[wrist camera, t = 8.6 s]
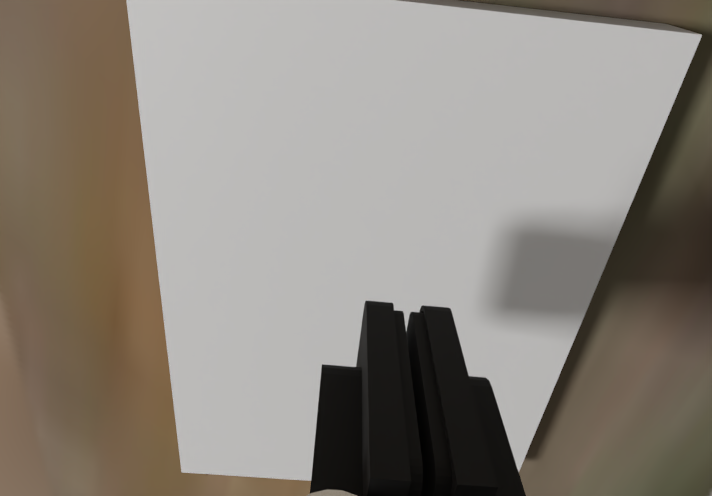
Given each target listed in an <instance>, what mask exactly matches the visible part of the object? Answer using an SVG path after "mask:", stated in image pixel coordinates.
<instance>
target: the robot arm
mask: <svg viewBox="0 0 712 496" xmlns="http://www.w3.org/2000/svg"><path fill="white" fill-rule="evenodd" d="M307 496H526V495H525V492H524V489H523V485H522V482H521V479H520V476H519V472H518V469H517V466H516V463H515V460H514V456H513V453H512V450H511V447H510V443H509V440H508V437H507V434H506V431H505V427H504V424H503V421H502V418H501V415H500V411H499V408H498V405H497V402H496V398H495V395H494V392H493V389H492V386H491V384H490V381H489V380H488V379H487V378H485V377H473V376H469V375H468V372H467V368H466V364H465V360H464V356H463V353H462V349H461V345H460V341H459V337H458V334H457V330H456V326H455V322H454V318H453V315H452V311H451V309H450V308H447V307H436V306H424V305H422V306H421V308H420V311H419V312H411V313H410V315H409V320H408V326H407V331H406V328H405V320H404V313H403V311H397V310H394V305H393V303H389V302H378V301H365V304H364V311H363V319H362V326H361V334H360V341H359V349H358V356H357V364H356V367H349V366H336V365H324V364H322V368H321V379H320V390H319V401H318V412H317V423H316V434H315V445H314V456H313V467H312V478H311V489H310V494H309V495H307Z"/></svg>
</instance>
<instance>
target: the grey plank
mask: <svg viewBox="0 0 712 496" xmlns="http://www.w3.org/2000/svg"><path fill="white" fill-rule="evenodd" d="M127 9H128V17H129V26H130V34H131V43H132V52H133V60H134V69H135V77H136V86H137V94H138V103H139V111H140V120H141V129H142V137H143V146H144V154H145V163H146V171H147V180H148V189H149V197H150V206H151V214H152V223H153V231H154V240H155V249H156V257H157V266H158V274H159V283H160V291H161V300H162V309H163V317H164V326H165V334H166V343H167V351H168V360H169V369H170V377H171V386H172V394H173V403H174V411H175V420H176V428H177V437H178V446H179V454H180V463H181V471H182V472H184V473H200V474H215V475H230V476H246V477H261V478H277V479H292V480H307V481H311V478H312V467H313V456H314V445H315V434H316V423H317V412H318V401H319V390H320V379H321V368H322V364H324V365H336V366H349V367H356V364H357V356H358V349H359V341H360V334H361V326H362V319H363V311H364V304H365V301H378V302H389V303H393V305H394V310H397V311H403V313H404V320H405V328H406V331H407V326H408V320H409V315H410V313H411V312H419V311H420V308H421V306H422V305H424V306H436V307H447V308H450V309H451V311H452V315H453V318H454V322H455V326H456V330H457V334H458V337H459V341H460V345H461V349H462V353H463V356H464V360H465V364H466V368H467V372H468V375H469V376H473V377H485V378H487V379H488V380H489V381H490V384H491V386H492V389H493V392H494V395H495V398H496V402H497V405H498V408H499V411H500V415H501V418H502V421H503V424H504V427H505V431H506V434H507V437H508V440H509V443H510V447H511V450H512V453H513V456H514V460H515V463H516V466H517V469H518V472H519V470H520V468H521V466H522V463H523V461H524V458H525V456H526V454H527V451H528V449H529V446H530V444H531V442H532V439H533V437H534V435H535V432H536V430H537V427H538V425H539V423H540V420H541V418H542V416H543V413H544V411H545V408H546V406H547V404H548V401H549V399H550V396H551V394H552V392H553V389H554V387H555V385H556V382H557V380H558V377H559V375H560V373H561V370H562V368H563V365H564V363H565V361H566V358H567V356H568V354H569V351H570V349H571V346H572V344H573V342H574V339H575V337H576V335H577V332H578V330H579V327H580V325H581V323H582V320H583V318H584V315H585V313H586V311H587V308H588V306H589V304H590V301H591V299H592V296H593V294H594V292H595V289H596V287H597V284H598V282H599V280H600V277H601V275H602V273H603V270H604V268H605V265H606V263H607V261H608V258H609V256H610V254H611V251H612V249H613V246H614V244H615V242H616V239H617V237H618V234H619V232H620V230H621V227H622V225H623V223H624V220H625V218H626V215H627V213H628V211H629V208H630V206H631V203H632V201H633V199H634V196H635V194H636V192H637V189H638V187H639V184H640V182H641V180H642V177H643V175H644V173H645V170H646V168H647V165H648V163H649V161H650V158H651V156H652V153H653V151H654V149H655V146H656V144H657V142H658V139H659V137H660V134H661V132H662V130H663V127H664V125H665V122H666V120H667V118H668V115H669V113H670V111H671V108H672V106H673V103H674V101H675V99H676V96H677V94H678V92H679V89H680V87H681V84H682V82H683V80H684V77H685V75H686V72H687V70H688V68H689V65H690V63H691V61H692V58H693V56H694V53H695V51H696V49H697V46H698V44H699V41H700V39H701V37H702V34H698V33H695V32H692V31H689V30H685V29H682V28H679V27H675V26H672V25H669V24H664V23H655V22H646V21H638V20H629V19H620V18H611V17H602V16H593V15H584V14H575V13H567V12H558V11H549V10H540V9H531V8H522V7H513V6H505V5H496V4H487V3H478V2H469V1H460V0H127Z"/></svg>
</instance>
